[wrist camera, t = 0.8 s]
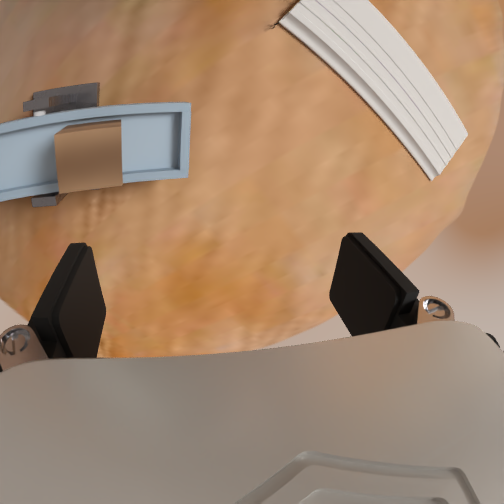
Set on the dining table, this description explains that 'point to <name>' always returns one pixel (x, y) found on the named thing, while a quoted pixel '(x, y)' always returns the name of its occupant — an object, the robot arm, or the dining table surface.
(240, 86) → the dining table surface
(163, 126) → the beam
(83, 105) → the stand
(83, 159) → the rider
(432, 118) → the baseboard molding
